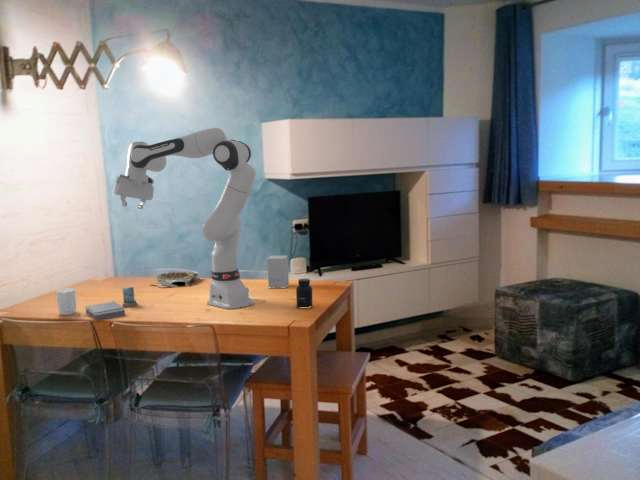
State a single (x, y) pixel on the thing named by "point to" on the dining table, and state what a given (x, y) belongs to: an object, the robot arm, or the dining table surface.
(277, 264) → the supplement box
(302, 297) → the supplement bottle
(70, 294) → the white cup
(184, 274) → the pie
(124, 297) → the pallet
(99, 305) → the dock
